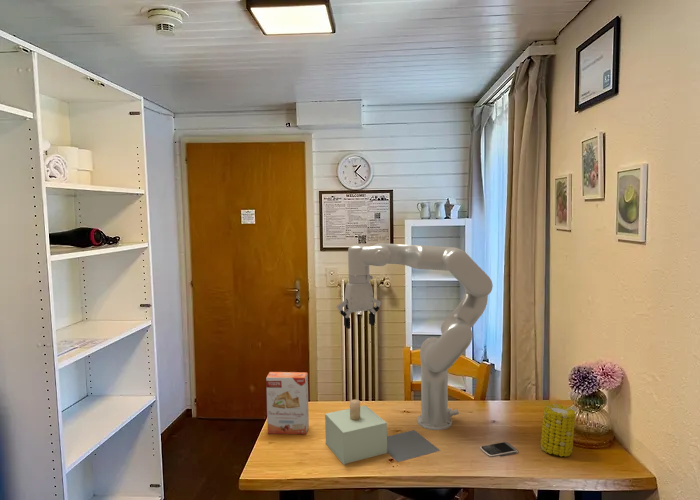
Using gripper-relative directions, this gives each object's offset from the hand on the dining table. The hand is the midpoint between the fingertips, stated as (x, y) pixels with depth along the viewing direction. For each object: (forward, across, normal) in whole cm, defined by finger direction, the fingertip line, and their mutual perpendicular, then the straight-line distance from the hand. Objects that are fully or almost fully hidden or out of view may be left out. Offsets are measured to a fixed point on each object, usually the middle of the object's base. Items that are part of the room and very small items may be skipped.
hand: (359, 326), depth 172 cm
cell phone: (+37, -31, +38) cm, 61 cm away
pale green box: (+36, +10, +16) cm, 41 cm away
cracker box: (+36, +26, -6) cm, 45 cm away
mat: (+36, -6, +22) cm, 43 cm away
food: (+36, -48, +46) cm, 76 cm away
